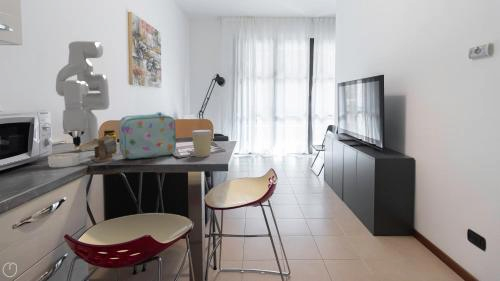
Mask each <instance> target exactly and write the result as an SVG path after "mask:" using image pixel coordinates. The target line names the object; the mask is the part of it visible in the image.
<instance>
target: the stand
mask: <svg viewBox="0 0 500 281" xmlns="http://www.w3.org/2000/svg"><path fill="white" fill-rule="evenodd" d="M98 139H99V138H98ZM93 140H97V139H93ZM98 144H99V146H97V147H95V148H94V150H93V151H94V152H93V153H94V157H91V158H90V159H91V160H92V161H94V162H96V163H105V161H106V162H111V161H115V158H113V154H112V153H105V144H104V140H98Z"/></svg>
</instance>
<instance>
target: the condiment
mask: <svg viewBox="0 0 500 281" xmlns="http://www.w3.org/2000/svg"><path fill="white" fill-rule="evenodd" d="M115 132H116V131H115V130H114V129H110V130H109V129H107V130H103V137H105V136H107V135H109V136H112V137H113V139H114V140H113V141H114V143H115V146H116V148H117V149H115V150H112V151H110V152H107V151H105V153H112V155H114V154H119V153H120V154H121V152H120V151H119V152H118V147H117V145H118V144H117V136H116V133H115Z"/></svg>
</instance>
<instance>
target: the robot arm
mask: <svg viewBox="0 0 500 281" xmlns="http://www.w3.org/2000/svg"><path fill="white" fill-rule="evenodd" d="M103 47H104V46H103V45H102V43H101V42H100V41H88V40H87V41H84V40H83V41H80V40H79V41H77V40H76V41H71V42H69V44H68V62H67V64H66V65H64V66H63V67H62V68H61V69H60V70H59V71H58V73H57V74H56V81H55V92H56V94H57V95H58V96H60V97H64V98H63V101H64V110H62V130H63V131H62V132H63V134H64V135H69V136H70V137H71V138H72V144H73V146H77V145H78V146H80V144H82V145H83V144H86V143H89V142H91V141H94V140H93V139H98V138H99V137H100V136H99V126H98V118H97V115H96V114H95V113H94V112H93V111H104V110H108V109H109V107H110V96H109V94H110V93H109V90H110V89H109V82H108V81H109V80H108V77H107V76H106V75H105V74H102V73H97V74H96V73H94V65H93V64H92V63H91V62H90V60H88V59H99V58H101V57H103V54H104V48H103ZM73 76H76V79H73V80H72V79H70V80H69V78H72V77H73ZM93 92H95V93H93ZM88 151H94V148H92V149H89V150H88Z"/></svg>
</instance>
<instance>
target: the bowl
mask: <svg viewBox="0 0 500 281" xmlns="http://www.w3.org/2000/svg"><path fill="white" fill-rule="evenodd" d="M56 156H58V158H54V157H56ZM47 161H48V167H49V168H56V169H57V168H67V167H68V168H69V167H74V166H79V165H80V164H82V158H81V153H80V152H79V153H78V152H68V153H67V152H64V153H56V154H51V155H48V156H47Z"/></svg>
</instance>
